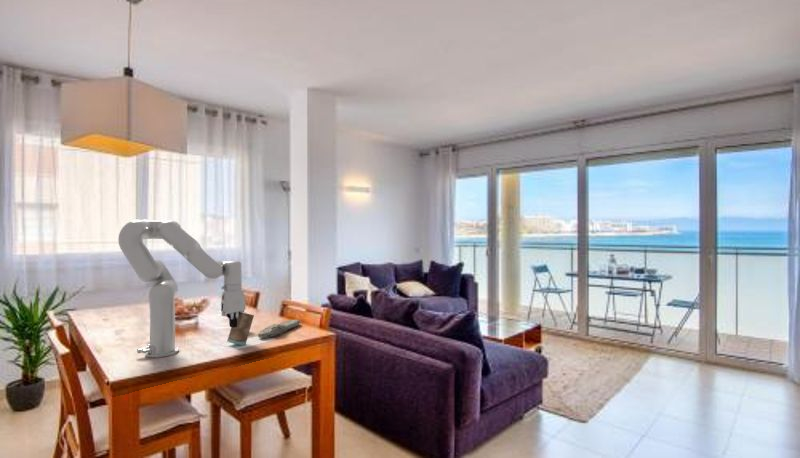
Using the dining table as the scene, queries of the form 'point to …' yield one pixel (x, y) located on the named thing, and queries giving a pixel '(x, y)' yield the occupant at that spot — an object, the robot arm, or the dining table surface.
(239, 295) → the robot arm
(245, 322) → the walnut block
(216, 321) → the dining table surface
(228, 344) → the mat
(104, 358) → the dining table surface
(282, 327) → the long grey stone
